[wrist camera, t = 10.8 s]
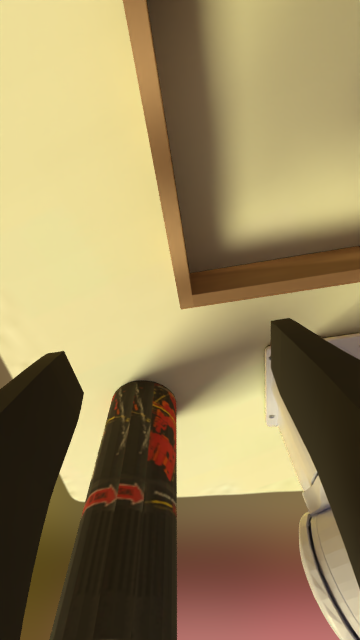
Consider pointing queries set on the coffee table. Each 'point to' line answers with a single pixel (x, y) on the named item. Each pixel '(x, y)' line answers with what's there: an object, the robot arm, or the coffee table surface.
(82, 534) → the deodorant
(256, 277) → the open pen
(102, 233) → the coffee table surface
